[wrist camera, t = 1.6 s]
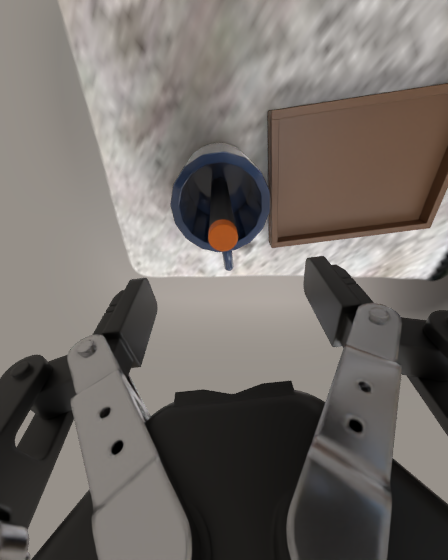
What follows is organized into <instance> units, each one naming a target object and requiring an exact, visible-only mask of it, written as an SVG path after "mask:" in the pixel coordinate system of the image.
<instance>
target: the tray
mask: <svg viewBox="0 0 448 560" xmlns="http://www.w3.org/2000/svg"><path fill="white" fill-rule="evenodd" d="M268 183H269V191H270V212H269V243H270V245H271V247H272V248H276V247H284V246H292V245H300V244H308V243H316V242H323V241H331V240H339V239H347V238H355V237H363V236H371V235H379V234H386V233H394V232H402V231H410V230H418V229H426V228H430V227H431V225H432V222H433V220H434V218H435V216H436V213H437V211H438V209H439V206H440V204H441V202H442V199H443V197H444V195H445V192H446V190H447V188H448V83H447V84H440V85H434V86H427V87H421V88H414V89H408V90H401V91H394V92H388V93H381V94H375V95H368V96H362V97H355V98H349V99H342V100H336V101H329V102H323V103H316V104H310V105H303V106H297V107H290V108H284V109H277V110H271V111H268Z"/></svg>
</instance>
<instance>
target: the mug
mask: <svg viewBox="0 0 448 560" xmlns="http://www.w3.org/2000/svg"><path fill="white" fill-rule="evenodd" d="M216 178H222V179H224V180H225V181H226V183H227V186H228V191H229V196H230V201H231V207H232V212H233V217H234V222H235V227H236V229H237V233H238V241H237V243H236V245H235V246H234V247H233V248H232V249H230V250H228V251H218V250H216V249H214V248H213V247H212V246H211V245H210V243H209V240H208V232H209V225H210V203H211V184H212V182H213V180H215V179H216ZM171 209H172V213H173V217H174V221H175V224H176V225H177V227H178V228H179V229H180V231H181V232H182V234H183V235H184V236H185V238H187V239H188V240H189V241H191V242H192V243H194V244H195V245H197V246H199V247H200V248H202V249H206V250H211V251H215V252H222V254H223V261H224V267H225V269H226V270H228V271H230V270H232V269H233V257H232V250H236V249H238V248H240V247H242V246H244V245H246V244H248V243H250V241H252V240H253V239H254V238H255V237H256V236H257V234H258V233H259V232H260V231H261V230H262V229H263V227H264V225H265V222H266V220H267V217H268V215H269V212H270V191H269V188H268V186H267V184H266V181H265V179H264V177H263V174H262V173H261V171H260V170H259V169H258V168H257V167H256V165H255V164H254V163H253V162H252V161H251V160H250V159H249V158H248V157H247V156H246V155H245V154H244V153H243V152H242V151H241V150H240V149H239V148H237V147H235V146H232V145H230V144H225V143H212V144H208V145H205V146H203V147H202V148H200V149H198V150H197V151H196V152H194V153H193V154H192V155H191V157H190V158H189V160H188V161H187V163H186V165H185V166H184V168H183V169H182V171H181V173H180V174H179V176H178V178H177V179H176V181H175V183H174V185H173V190H172V197H171Z"/></svg>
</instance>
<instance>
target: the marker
mask: <svg viewBox="0 0 448 560" xmlns="http://www.w3.org/2000/svg"><path fill="white" fill-rule="evenodd" d="M208 240H209V243H210V245H211V246H212V247H213V248H214V249H216V250H218V251H228V250H230V249H232V248H233V247H234V246H235V245H236V243H237V241H238V233H237V229H236V227H235V222H234V217H233V212H232V207H231V201H230V196H229V191H228V186H227V183H226V181H225V180H224V179H222V178H216V179H215V180H213V182H212V184H211V203H210V225H209V232H208Z"/></svg>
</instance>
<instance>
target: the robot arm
mask: <svg viewBox="0 0 448 560" xmlns="http://www.w3.org/2000/svg"><path fill="white" fill-rule="evenodd" d="M304 292H305V295H306V297H307V299H308V301H309V303H310V305H311V307H312V308H313V310H314V312H315V314H316V316H317V318H318V320H319V322H320V324H321V326H322V328H323V330H324V332H325V334H326V335H327V337H328V339H329V341H330V343H331V345H332V346H333V347H338V346H343V348H344V349H343V352H342V355H341V358H340V361H339V364H338V367H337V370H336V373H335V376H334V379H333V381H332V385H331V388H330V390H329V393H328V397H327V400H326V402H324V401H322V400H321V399H318V398H317V397H315V396H312V395H310V394H308V393H305V392H301V391H297V390H294V388H293V385H292V382H291V381H283V382H274V383H264V384H260V385H257V386H255V387H252V388H249V389H247V390H244V391H241V392H239V393H236V394H227V393H221V392H215V391H209V390H195V391H185V392H176V393H175V400H174V402H173V403H171V404H169V405H167V406H165V407H163V408H162V409H160V410H158V411H157V412H156V413H155V414H153V415H152V416H151V415H150V414H149V412H148V410H147V408H146V406H145V405H144V403H143V401H142V399H141V397H140V395H139V393H138V391H137V389H136V387H135V385H134V383H133V381H132V379H131V377H130V376H129V372H130V369H131V368H134V367H141V364H142V361H143V358H144V354H145V351H146V347H147V344H148V341H149V338H150V334H151V331H152V328H153V324H154V321H155V317H156V314H157V302H156V299H155V296H154V294H153V291H152V289H151V286H150V284H149V281H148V279H147V278H140V279H132V280H130V281H129V283H128V285H127V286H126V289H125V290H122V291H120V292H119V293H118V294H117V295H116V296H115V297H114V298H113V300H112V301H111V303H110V305H109V306H110V307H108V309H107V310H106V313H105V314H104V316H103V317H102V319H101V321H100V323H99V324H98V326H97V328H96V330H95V331H94V333H93V335H91V336H88V337H85V338H84V339H82V340H80V341H79V342H77V343H76V344H75V345H74V346H73V347H72V348H71V349H70V351H69V353H68V355H66V356H63V357H60V358H57V359H54V360H52V361H49V362H48V361H47V360H46V359H45V358H44V357H43V356H41V355H32V356H29V357H26V358H24V359H22V360H20V361H18V362H17V363H15V364H14V365H12V366H11V367H10V368H9V369H8V370H7V371H6V372H5V373H4V374H3V375H2V377H1V379H0V560H30V554H29V552H28V545H29V534H28V531H27V530H28V527H29V524H30V522H31V520H32V518H33V515H34V513H35V510H36V508H37V506H38V503H39V501H40V498H41V496H42V494H43V491H44V489H45V486H46V484H47V482H48V479H49V477H50V474H51V472H52V470H53V467H54V465H55V463H56V460H57V458H58V455H59V453H60V451H61V448H62V446H63V444H64V441H65V439H66V437H67V434H68V431H69V429H70V427H71V425H72V422H73V420H74V421H75V425H76V429H77V434H78V439H79V443H80V447H81V452H82V457H83V461H84V465H85V470H86V474H87V479H88V483H89V488H90V489H89V491H88V492H87V493H86V494H85V495H84V497H83V498H82V499H81V500H80V502H79V503H78V504H77V505H76V506H75V508H74V509H73V510H72V511H71V512H70V513H69V515H68V516H67V517H66V518H65V519H64V521H63V522H62V523H61V524H60V526H59V527H58V528H57V529H56V530H55V532H54V533H53V534H52V535H51V536H50V538H49V539H48V540H47V541H46V543H45V544H44V545H43V546H42V547H41V548H40V550H39V551H38V552H37V554H36V555H35V556H34V557H33V558H32V559H31V560H448V504H447V503H446V502H445V501H443V500H442V499H441V498H440V497H439V496H437V495H436V494H435V493H434V492H433V491H431V490H430V489H429V488H428V487H426V486H425V485H424V484H423V483H422V482H421V481H420V480H418V479H417V478H416V477H415V476H413V475H412V474H411V473H410V472H409V471H407V470H406V469H405V468H404V467H403V466H401V465H400V464H399V463H398V462H397V461H396V460H394V459H393V458H392V457H393V447H394V438H395V428H396V419H397V409H398V399H399V390H400V380H401V374H402V375H407V377H408V378H409V380H410V381H411V383H412V384H413V386H414V387H415V389H416V390H417V391H418V393H419V394H420V396H421V397H422V399H423V400H424V402H425V403H426V405H427V406H428V407H429V409H430V411H431V412H432V413H433V415H434V416H435V418H436V419H437V421H438V422H439V424H440V425H441V427H442V428H443V430H444V431H445V433H446V434H447V435H448V311H446V310H439V311H435V312H433V313H431V314H430V316H429V317H428V319H427V320H418V319H409V318H402V317H400V315H399V314H398V313H397V312H396V311H394V310H393V309H391V308H389V307H387V306H385V305H381V304H376V303H373V301H372V300H371V299H370V298H369V296H368V295H367V294H366V293H365V292H364V291H363V290H362V288H361V287H360V286H359V285H358V284H356V282H355V281H354V279H353V278H351V276H350V275H349V274H348V273H347V271H346V270H344V269H343V268H341V267H339V266H337V265H331V264H330V263H329V262H328V260H327V259H326V258H325V257H324V256H319V257H311V258H307V259H306V264H305V274H304ZM30 410H32V411H33V412H34V413H35V416H34V417H33V419H32V421H31V423H30V425H29V426H28V428H27V430H26V432H25V434H24V435H23V437H22V439H21V441H20V442H19V444H18V446H17V448H16V446H15V436H16V433H17V432H18V430H19V428H20V426H21V425H22V423H23V421H24V419H25V417H26V416H27V414H28V412H29V411H30Z"/></svg>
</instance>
